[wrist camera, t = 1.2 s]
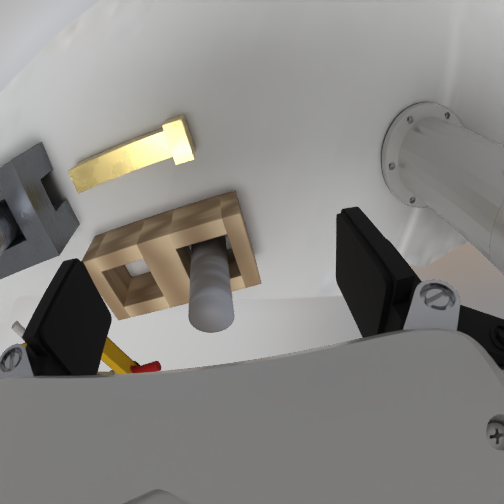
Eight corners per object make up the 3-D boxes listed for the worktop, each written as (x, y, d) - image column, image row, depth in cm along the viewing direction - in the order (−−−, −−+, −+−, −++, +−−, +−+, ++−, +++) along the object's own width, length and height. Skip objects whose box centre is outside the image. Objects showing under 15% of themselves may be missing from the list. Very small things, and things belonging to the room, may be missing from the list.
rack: (235, 190, 30) (250, 260, 20) (254, 255, 35) (274, 336, 25) (94, 236, 31) (56, 313, 21) (126, 290, 35) (106, 371, 25)
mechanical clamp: (164, 396, 39) (44, 418, 42) (166, 362, 44) (51, 393, 48) (72, 314, 29) (-28, 361, 32) (87, 278, 34) (-15, 335, 38)
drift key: (183, 113, 25) (180, 119, 23) (195, 149, 27) (194, 159, 25) (75, 158, 26) (62, 168, 23) (88, 189, 28) (77, 202, 25)
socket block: (41, 141, 24) (11, 160, 19) (79, 224, 29) (59, 255, 25) (-16, 179, 24) (-45, 202, 19) (21, 249, 30) (-1, 279, 25)
